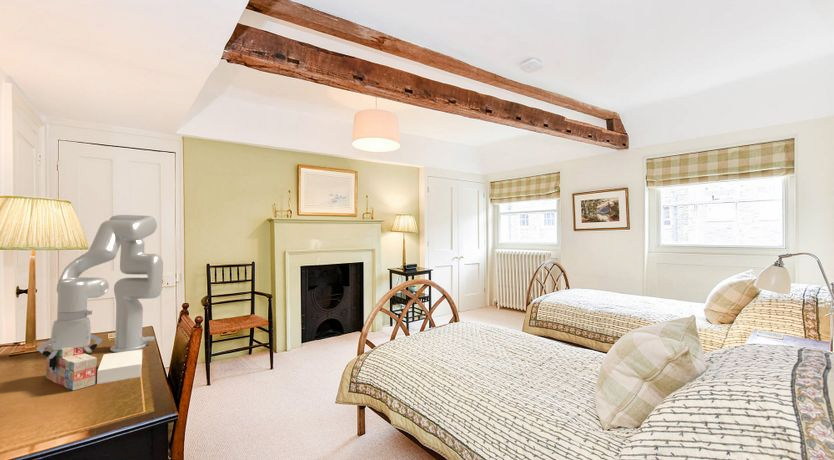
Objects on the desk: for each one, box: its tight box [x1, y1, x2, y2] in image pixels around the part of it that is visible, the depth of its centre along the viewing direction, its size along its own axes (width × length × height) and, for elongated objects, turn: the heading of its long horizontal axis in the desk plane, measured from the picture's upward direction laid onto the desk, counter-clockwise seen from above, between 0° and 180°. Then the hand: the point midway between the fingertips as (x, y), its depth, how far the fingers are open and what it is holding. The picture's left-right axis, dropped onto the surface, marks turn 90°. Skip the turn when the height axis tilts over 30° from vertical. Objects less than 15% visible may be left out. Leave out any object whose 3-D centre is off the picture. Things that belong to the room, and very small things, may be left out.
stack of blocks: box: [45, 344, 98, 391], centre depth 127 cm, size 21×6×12 cm, turn 63°
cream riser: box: [96, 348, 143, 385], centre depth 137 cm, size 12×20×5 cm, turn 36°
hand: (70, 365), depth 127 cm, fingers closed on stack of blocks, 7 cm apart
